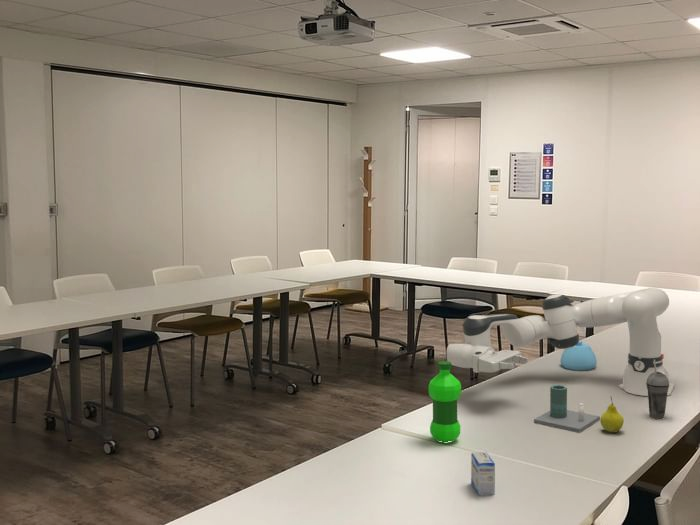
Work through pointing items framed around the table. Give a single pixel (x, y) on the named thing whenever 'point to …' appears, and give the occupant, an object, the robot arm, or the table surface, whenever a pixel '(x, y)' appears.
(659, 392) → the beverage cup
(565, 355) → the sugar bowl
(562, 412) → the sleeve
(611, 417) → the fruit
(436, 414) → the plastic bottle
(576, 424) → the pin board
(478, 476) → the medicine box
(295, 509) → the table surface
